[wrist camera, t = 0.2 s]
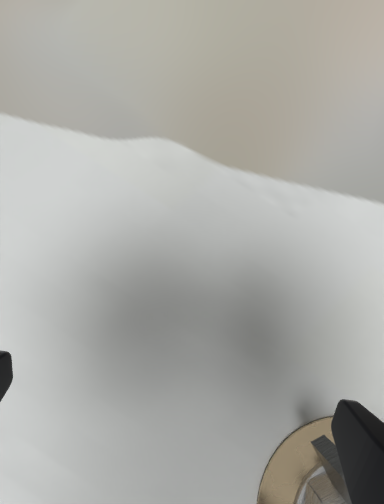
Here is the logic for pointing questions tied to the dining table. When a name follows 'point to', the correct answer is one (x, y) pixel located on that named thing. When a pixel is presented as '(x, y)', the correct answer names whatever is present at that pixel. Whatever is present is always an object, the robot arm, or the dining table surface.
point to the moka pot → (305, 469)
